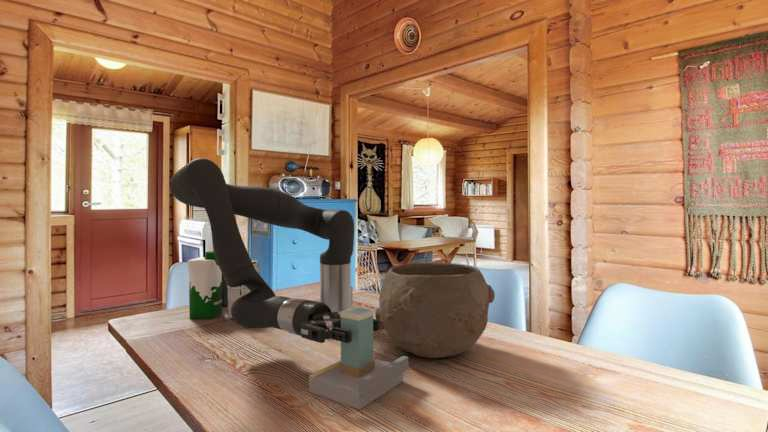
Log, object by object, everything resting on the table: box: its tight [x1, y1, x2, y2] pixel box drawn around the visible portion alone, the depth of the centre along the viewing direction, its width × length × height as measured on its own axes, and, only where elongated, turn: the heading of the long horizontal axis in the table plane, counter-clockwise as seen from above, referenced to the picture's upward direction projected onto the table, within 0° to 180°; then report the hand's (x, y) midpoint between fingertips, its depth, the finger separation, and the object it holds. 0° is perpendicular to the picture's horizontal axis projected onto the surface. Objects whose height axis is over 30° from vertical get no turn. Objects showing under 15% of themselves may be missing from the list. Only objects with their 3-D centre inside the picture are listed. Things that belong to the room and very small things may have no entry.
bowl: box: [374, 262, 496, 359], centre depth 99 cm, size 27×29×20 cm
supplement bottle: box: [222, 275, 228, 308], centre depth 143 cm, size 7×7×12 cm
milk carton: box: [187, 250, 223, 320], centre depth 130 cm, size 9×9×20 cm
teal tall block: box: [339, 306, 375, 378], centre depth 80 cm, size 5×5×12 cm
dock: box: [308, 355, 409, 410], centre depth 80 cm, size 14×13×5 cm
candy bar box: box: [227, 260, 259, 320], centre depth 132 cm, size 11×5×16 cm, turn 168°
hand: (365, 331), depth 79 cm, fingers open, 8 cm apart
